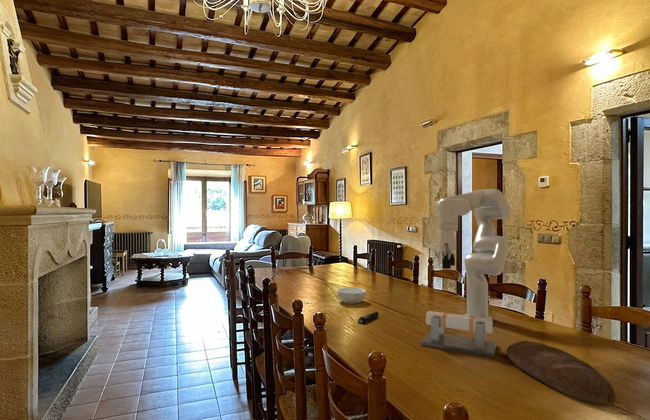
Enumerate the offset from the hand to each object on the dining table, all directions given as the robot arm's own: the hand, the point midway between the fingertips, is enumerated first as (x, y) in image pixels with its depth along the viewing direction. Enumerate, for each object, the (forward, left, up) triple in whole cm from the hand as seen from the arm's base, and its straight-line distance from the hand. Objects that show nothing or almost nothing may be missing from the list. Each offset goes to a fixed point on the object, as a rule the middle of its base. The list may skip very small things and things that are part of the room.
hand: (448, 266), depth 157 cm
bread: (+28, +37, -29) cm, 54 cm away
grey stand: (+14, +6, -28) cm, 32 cm away
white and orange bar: (+14, +6, -21) cm, 26 cm away
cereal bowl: (-29, -60, -29) cm, 73 cm away
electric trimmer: (-1, -38, -29) cm, 48 cm away
